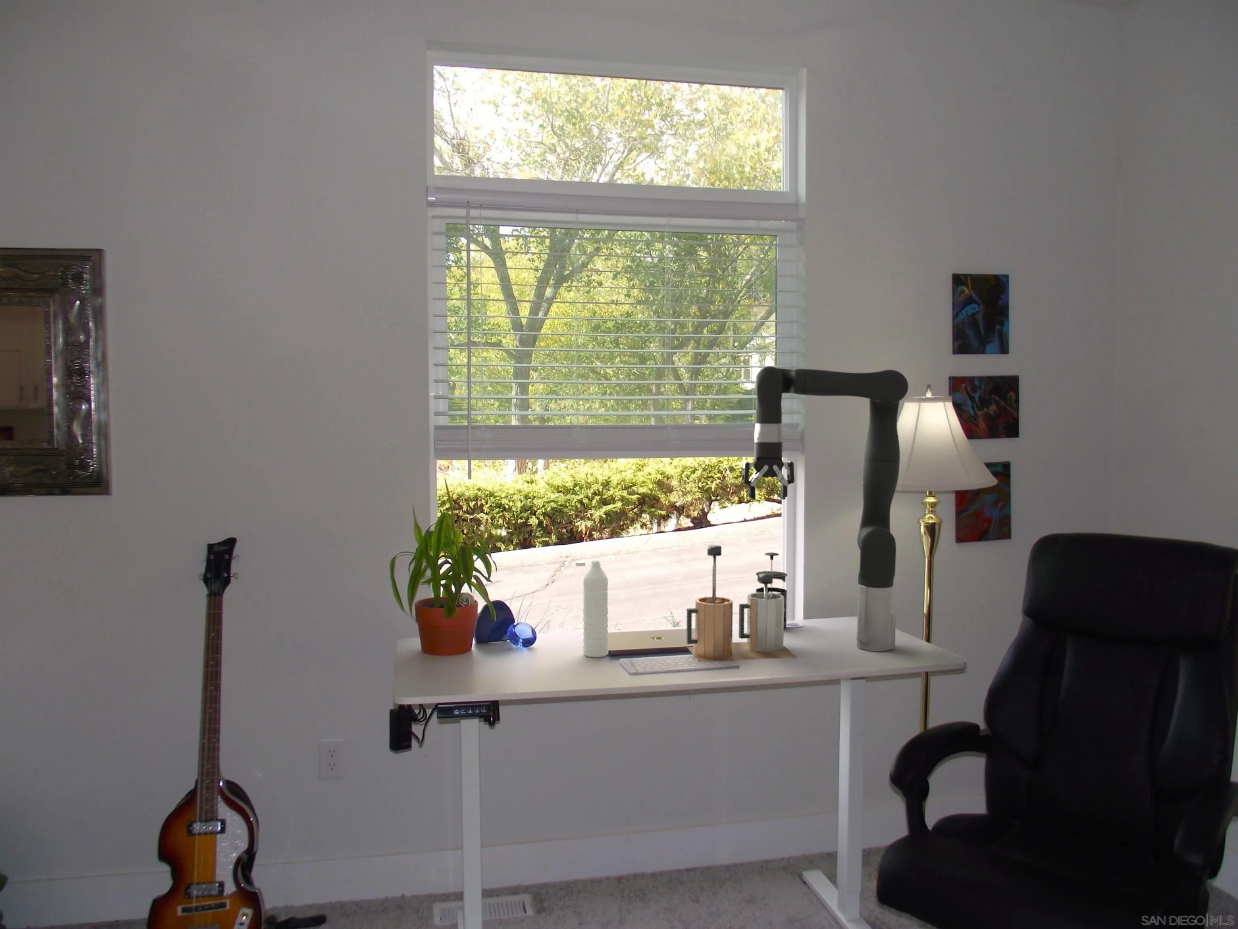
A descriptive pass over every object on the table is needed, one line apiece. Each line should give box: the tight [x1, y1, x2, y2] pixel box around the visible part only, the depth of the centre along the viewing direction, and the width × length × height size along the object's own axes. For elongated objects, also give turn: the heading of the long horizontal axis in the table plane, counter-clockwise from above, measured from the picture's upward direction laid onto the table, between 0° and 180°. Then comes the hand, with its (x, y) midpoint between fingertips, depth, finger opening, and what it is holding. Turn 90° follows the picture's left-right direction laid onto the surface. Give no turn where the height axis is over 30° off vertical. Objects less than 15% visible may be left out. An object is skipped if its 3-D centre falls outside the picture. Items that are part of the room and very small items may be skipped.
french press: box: [755, 552, 788, 630], centre depth 255 cm, size 12×9×23 cm
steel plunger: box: [758, 573, 774, 599], centre depth 231 cm, size 7×7×16 cm
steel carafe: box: [738, 592, 785, 653], centre depth 232 cm, size 12×9×14 cm
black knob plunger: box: [706, 544, 722, 604], centre depth 226 cm, size 7×7×16 cm
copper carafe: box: [686, 596, 734, 659], centre depth 226 cm, size 12×9×14 cm
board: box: [686, 641, 798, 663], centre depth 230 cm, size 26×16×1 cm, turn 99°
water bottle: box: [575, 560, 609, 658], centre depth 229 cm, size 9×6×25 cm
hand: (767, 499), depth 238 cm, fingers open, 8 cm apart
